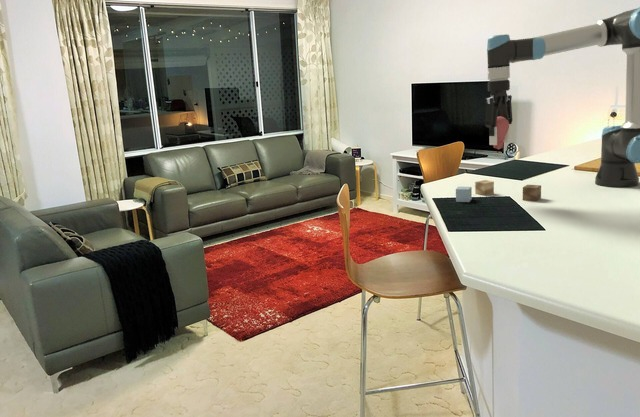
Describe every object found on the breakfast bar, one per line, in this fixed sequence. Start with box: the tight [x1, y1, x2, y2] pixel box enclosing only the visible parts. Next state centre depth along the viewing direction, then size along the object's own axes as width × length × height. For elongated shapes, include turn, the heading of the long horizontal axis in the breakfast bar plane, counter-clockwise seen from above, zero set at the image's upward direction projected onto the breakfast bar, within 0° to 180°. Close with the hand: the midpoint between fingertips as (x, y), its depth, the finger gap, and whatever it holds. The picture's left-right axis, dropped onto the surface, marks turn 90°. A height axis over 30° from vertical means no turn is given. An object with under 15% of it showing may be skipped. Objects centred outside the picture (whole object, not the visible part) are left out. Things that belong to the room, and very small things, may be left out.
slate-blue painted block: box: [455, 186, 472, 203], centre depth 196 cm, size 5×5×5 cm
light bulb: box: [492, 115, 510, 150], centre depth 188 cm, size 7×7×12 cm
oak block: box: [474, 179, 495, 196], centre depth 205 cm, size 5×5×5 cm
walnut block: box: [522, 184, 542, 202], centre depth 190 cm, size 5×5×5 cm
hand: (499, 143), depth 189 cm, fingers closed on light bulb, 7 cm apart
